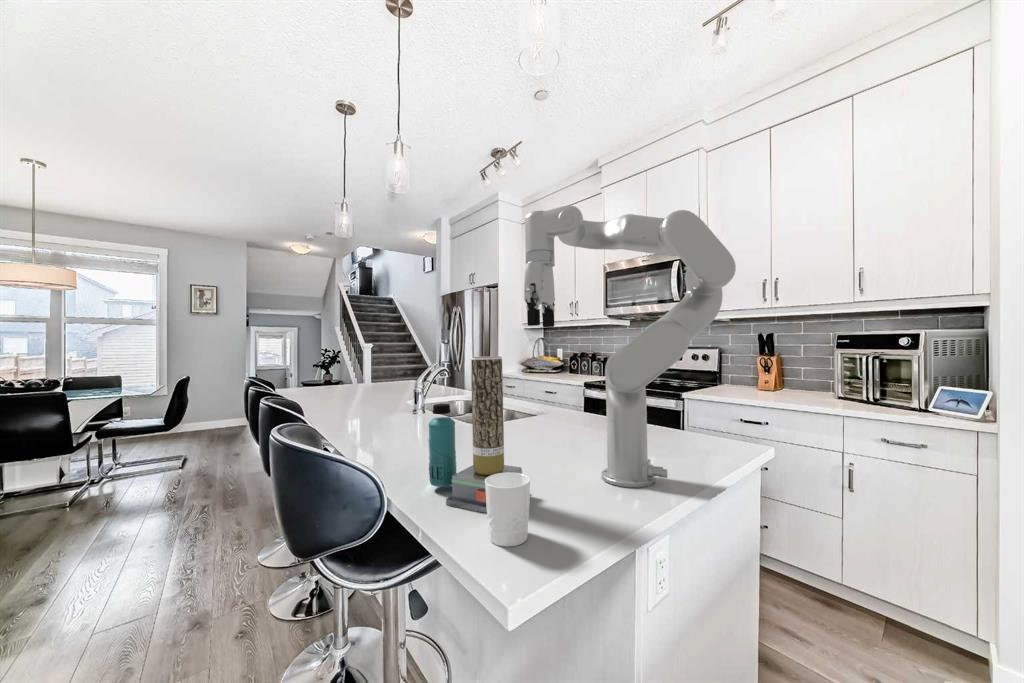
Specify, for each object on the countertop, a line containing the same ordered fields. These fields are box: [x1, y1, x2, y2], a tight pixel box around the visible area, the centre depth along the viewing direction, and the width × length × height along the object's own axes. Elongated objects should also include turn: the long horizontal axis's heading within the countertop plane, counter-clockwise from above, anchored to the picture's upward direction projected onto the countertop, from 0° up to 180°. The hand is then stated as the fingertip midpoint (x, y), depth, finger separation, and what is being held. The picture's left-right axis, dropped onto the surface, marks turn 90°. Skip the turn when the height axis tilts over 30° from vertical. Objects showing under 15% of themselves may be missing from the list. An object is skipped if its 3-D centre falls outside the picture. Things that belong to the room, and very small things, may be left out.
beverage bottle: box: [428, 403, 458, 488], centre depth 92 cm, size 6×7×20 cm
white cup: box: [485, 473, 531, 548], centre depth 67 cm, size 8×8×10 cm
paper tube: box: [470, 355, 505, 475], centre depth 85 cm, size 7×7×25 cm
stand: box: [445, 464, 523, 514], centre depth 85 cm, size 13×13×6 cm
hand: (541, 326), depth 101 cm, fingers open, 9 cm apart
